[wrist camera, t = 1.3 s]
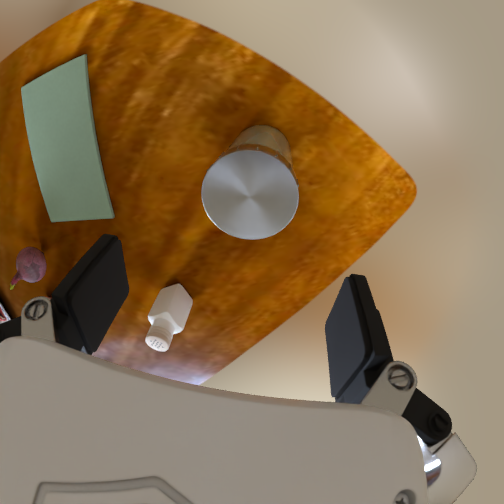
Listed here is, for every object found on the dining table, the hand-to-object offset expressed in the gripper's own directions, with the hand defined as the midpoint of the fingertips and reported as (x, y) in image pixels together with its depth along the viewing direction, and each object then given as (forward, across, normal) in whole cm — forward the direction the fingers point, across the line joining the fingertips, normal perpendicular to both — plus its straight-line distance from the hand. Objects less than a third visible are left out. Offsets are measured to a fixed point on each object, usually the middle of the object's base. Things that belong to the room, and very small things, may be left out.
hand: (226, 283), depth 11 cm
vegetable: (+20, +36, +19) cm, 46 cm away
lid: (+8, 0, 0) cm, 8 cm away
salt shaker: (+20, +9, +22) cm, 31 cm away
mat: (+20, +26, 0) cm, 33 cm away
